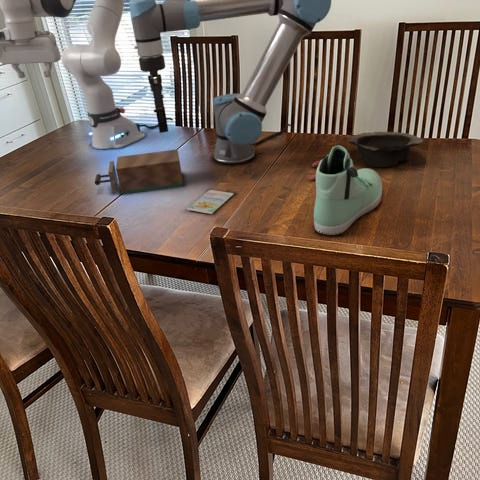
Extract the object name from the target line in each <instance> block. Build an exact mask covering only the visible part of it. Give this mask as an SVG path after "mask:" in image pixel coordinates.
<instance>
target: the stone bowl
mask: <svg viewBox="0 0 480 480" xmlns="http://www.w3.org/2000/svg"><path fill="white" fill-rule="evenodd" d="M424 142H425V141H424V139H422V138H420V137H418V136H417V135H414V134H411V133H407V132H397V131H373V132H362V133H358V134H353V135H351V136H349V137H348V141H347V143H348V144H351V145H353V146H356V150H357V151H356V152H357V154H358V155H360V157H361V159H363V160H364V161H366V164H367V166H368V167H372V168H375V167H376V168H385V167H394V166H396V165H397V164H398V162H406V161H408V160H409V158H410V151H411V148H413V147H416V146H419V145H420V144H422V143H424Z"/></svg>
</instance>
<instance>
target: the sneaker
mask: <svg viewBox="0 0 480 480" xmlns="http://www.w3.org/2000/svg"><path fill="white" fill-rule="evenodd" d="M319 161H320V163H319V165H317V168H316V172H315V173H316V178H315V201H314V207H313V225H314V229H315V231H316V232H318V233H320V234H323V235H326V236H327V235H328V236H336V235H339V234H342V233H344V232H345V231H347V230H348V229H349V228H350V227H351V226H352V225H353V224H354V222H356V221H357V220H358V219H359V218H360V217H362V216H363V215H365V214H367V213H370V212H372V210H374V209H375V208H377V207H378V205H380V203H381V200H382V196H383V184H382V183H383V182H382V179H381V176H380V175H379V173H378V172H377V171H376V170H374V169H372V168H367V167H365V168H358V169H357V168H355V167H354V161H353V159H352V158H351V156H350V153H349V152H348V150H347V148H345V147H344V146H342V145H334V146H333V147H331V149H330V151H329V154H327V155H326V156H325V157H324V158H322V159H321V160H319ZM343 230H344V231H343ZM319 231H320V232H319ZM322 232H323V233H322ZM339 232H340V233H339ZM326 233H327V234H326ZM328 233H329V234H328ZM335 233H337V234H335Z"/></svg>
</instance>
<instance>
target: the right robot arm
mask: <svg viewBox="0 0 480 480" xmlns="http://www.w3.org/2000/svg"><path fill="white" fill-rule="evenodd" d="M128 6H129V13H130V19H131V26H132V30H133V35H134V36H133V37H134V41H135V45H134V47H133V48H134V49H135V50H136V52H137V55H138V64H139V69H140V71H141V72H143V73H149V75H147V80H148V85H149V87H150V91H151V92H152V96H153V102H154V108H155V109H153V113H155V114H156V120H157V125H158V130H159V133H160V134H162V133H168V132H169V126H168V120H166V118H167V114H166V108H165V103H164V98H165V96H164V94H163V92H162V91H163V84H162V83H163V79H162V75H161V73H158V72H159V71H163V70H164V69H166V62H165V61H166V60H165V56H164V55H163V54H164V47H163V40H162V36H161V34H162V33H167V32H168V33H170V32H179V31H190V30H194V29H198V28H199V27H200V25H201V23H202V22H211V21H218V20H225V19H234V18H241V17H248V16H256V15H263V14H267V15H269V16H270V17H274V16H278V21H279V22H278V24H277V26H276V28H275V30H274V32H273V34H272V36H271V37H270V40H269V41H268V43H267V45H266V47H265V49H264V50H263V53H262V54H261V56H260V58H259V60H258V61H257V64H256V66H255V68H254V70H253V72H252V73H251V75H250V78H249V79H248V82H247V83H246V85H245V87H244V89H243V91H242V92H241V93H227V94H222V95H218V96H215V97H214V98H213V105H212V108H213V112H214V121H215V132H216V141H215V146H214V150H213V159H214V161H215V162H216V163H218V164H221V165H228V166H233V165H240V164H246V163H248V162H250V161H252V160H253V159H254V158H255V157H256V155H255V149H254V148H255V147H254V146H256V145H259V144H261V143H263V142H264V141H266V140H268V139H270V138H272V137H275V136H277V135H280V134H282V133H283V132H285V131H286V130H287V129H288V127H291V126H292V125H291V124H290V123H287V124H286V125H285V127H284V128H283V129H281V130H280V131H277V132H275V133H273V134H270V135H267V136H266V137H264V138H262V139H260V137H261V134H262V132H263V124H262V123H263V121H264V119H265V118H266V116H267V114H268V113H267V112H268V111H267V108H266V106H267V104H268V102H269V100H270V98H271V96H272V95H273V93H274V91H275V89H276V87H277V86H278V84H279V82H280V80H281V79H282V76H283V75H284V73H285V71H286V69H287V67H288V65H289V63H290V62H291V60H292V59H293V56H294V55H295V53H296V51H297V49H298V48H299V45H300V43H301V41H302V40H303V38H304V37H305V36H308V35H311V34H312V33H313V30H314V28H315V26H316V25H317V24H318V23H320V22H322V21H323V20H324V19H326V17H327V16H328V14H329V12H330V10H331V7H332V0H164V1H163V2H162V3H157V2H156V0H130V1H129V2H128ZM259 139H260V140H259ZM258 140H259V141H258Z"/></svg>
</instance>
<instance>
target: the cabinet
mask: <svg viewBox="0 0 480 480" xmlns="http://www.w3.org/2000/svg"><path fill="white" fill-rule="evenodd" d="M115 165H116V166H115V170H116V174H117V179H118V184H119V185H118V186H119V189H120V193H121V195H126V194H127V195H128V194H136V193H141V192H148V191H149V192H150V191H159V190H166V189H170V188H171V189H172V188H178V187H184V181H183V175H182V174H183V173H182V167H181V160H180V154H179V150H178V149H177V148H176V149H170V150H162V151H154V152H146V153H137V154H130V155H122V156H117V158H116V164H115Z"/></svg>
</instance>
